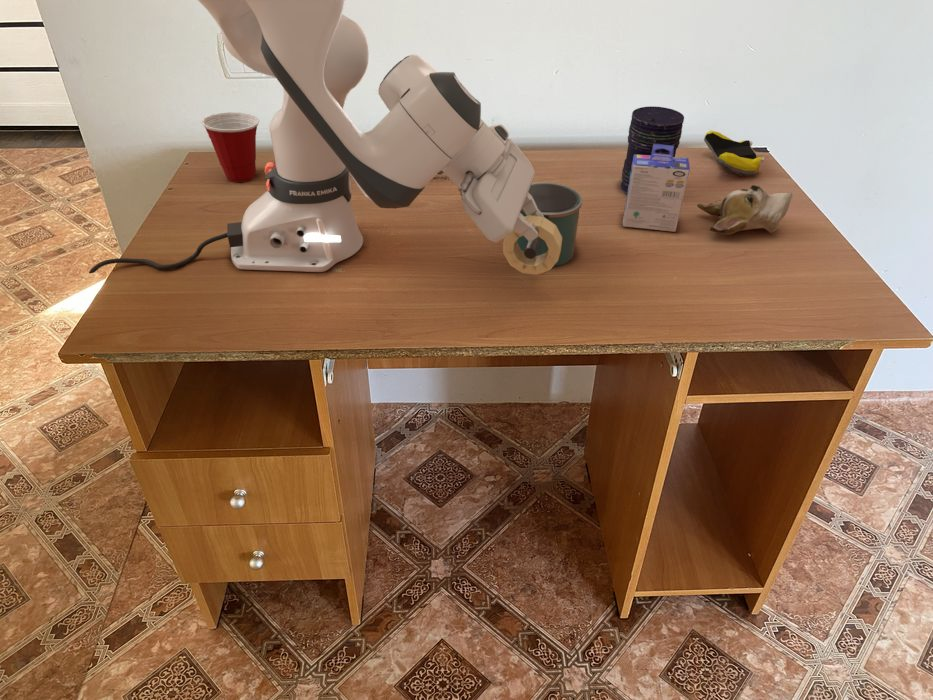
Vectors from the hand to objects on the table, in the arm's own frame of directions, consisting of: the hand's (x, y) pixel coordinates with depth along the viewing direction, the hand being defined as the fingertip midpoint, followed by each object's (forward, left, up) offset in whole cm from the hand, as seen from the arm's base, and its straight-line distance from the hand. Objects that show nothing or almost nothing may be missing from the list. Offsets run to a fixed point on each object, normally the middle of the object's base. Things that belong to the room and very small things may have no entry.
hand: (537, 229), depth 101 cm
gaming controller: (+53, +42, -12) cm, 69 cm away
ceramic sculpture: (+43, +16, -12) cm, 47 cm away
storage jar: (+31, +34, -12) cm, 47 cm away
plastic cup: (-50, +50, -12) cm, 72 cm away
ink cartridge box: (+27, +20, -12) cm, 35 cm away
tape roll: (-1, 0, -7) cm, 7 cm away
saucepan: (+3, +8, -12) cm, 15 cm away
